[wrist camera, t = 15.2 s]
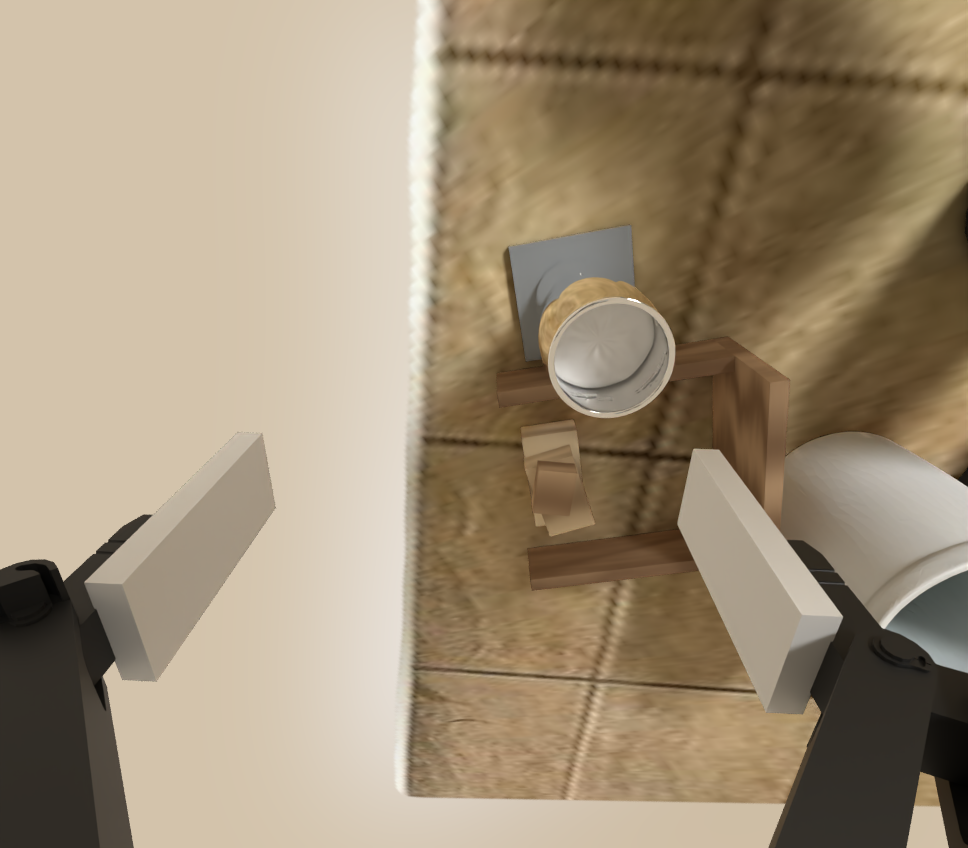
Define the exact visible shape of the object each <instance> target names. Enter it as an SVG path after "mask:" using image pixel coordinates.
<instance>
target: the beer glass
mask: <svg viewBox="0 0 968 848" xmlns="http://www.w3.org/2000/svg"><path fill="white" fill-rule="evenodd" d="M535 310H536V314H537V316H538V319H539V326H538V344H539V351H540V355H541V359H542V362H543V364H544V367H545V370H546V372H547V374H548V376H549V378H550V380H551V382H552V385H553V387H554V389H555V391H556V392H557V394H558V395H559V397H560V398H561V399H562V400H563V401H564V402H565V403H566V404H567V405H568V406H570V407H571V408H573V409H574V410H576V411H578V412H580V413H582V414H585V415H588V416H591V417H597V418H616V417H621V416H625V415H628V414H631V413H634V412H636V411H638V410H640V409H642V408H643V407H645V406H646V405H648V404H649V403H650V402H652V401H653V400H654V399H655V398H656V397H657V396H658V395H659V394H660V393H661V391H662V390H663V389H664V387H665V386H666V384H667V382H668V381H669V379H670V376H671V374H672V371H673V368H674V364H675V357H676V347H675V341H674V337H673V334H672V331H671V329H670V327H669V325H668V323H667V322H666V320H665V319H664V318H663V316H662V315H661V314H660V313H659V312H658V311H657V309H656V308H655V307H654V305H653V304H652V303H651V302H650V301H649V299H648V298H647V297H646V296H645V295H644V294H643V293H641V292H640V291H639V290H638V289H636V288H635V287H633V286H632V285H630V284H629V283H627V282H625V281H623V280H621V279H619V278H616V277H612V276H608V275H607V273H606V272H605V271H604V270H603V269H602V268H601V267H599V266H598V265H596V264H594V263H592V262H590V261H586V260H578V259H576V260H568V261H565V262H562V263H560V264H558V265H556V266H554V267H553V268H552V269H550V270H549V271H548V272H547V273H546V274H545V275H544V276H543V278H542V279H541V281H540V283H539V285H538V287H537V290H536V294H535Z"/></svg>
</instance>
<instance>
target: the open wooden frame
mask: <svg viewBox="0 0 968 848" xmlns="http://www.w3.org/2000/svg"><path fill="white" fill-rule="evenodd" d="M675 347H676V357H675V364H674V368H673V371H672V374H671V376H670V379H669V381H668V382H670V381H677V380H684V379H690V378H697V377H703V376H710V375H713V447H712V449H715V450H720V452H721V453H722V454H723V456H724V457H725V458H726V460H727V461H728V462H729V464H730V465H731V466H732V468H733V469H734V470H735V472H736V473H737V474H738V476H739V477H740V478H741V480H742V481H743V483H744V484H745V485H746V487H747V488H748V489H749V491H750V492H751V493H752V495H753V496H754V497H755V499H756V500H757V501H758V503H759V504H760V505H761V507H762V508H763V509H764V511H765V512H766V514H767V515H768V516H769V518H770V519H771V520H772V522H773V523H774V524H775V526H776V527H777V528H778V530H779V531H780V526H781V511H782V495H783V480H784V465H785V449H786V434H787V419H788V404H789V388H790V379H788V378H787V377H785V376H784V375H782V374H781V373H780V372H778V371H777V370H775V369H774V368H772V367H771V366H770V365H768V364H767V363H765V362H764V361H762V360H761V359H760V358H758V357H757V356H755V355H754V354H752V353H751V352H750V351H748V350H747V349H745V348H744V347H742V346H741V345H739V344H738V343H737V342H735V341H734V340H732V339H731V338H729V337H722V338H716V339H709V340H703V341H697V342H691V343H684V344H678V345H675ZM497 397H498V402H499V408H500V407H507V406H513V405H520V404H526V403H533V402H540V401H546V400H553V399H559V398H560V397H559V395H558V394H557V392H556V391H555V389H554V387H553V385H552V382H551V380H550V378H549V376H548V374H547V372H546V370H545V367H544V366H540V367H533V368H527V369H521V370H514V371H508V372H502V373H497ZM528 559H529V572H530V582H531V588H532V591H533V590H541V589H549V588H558V587H566V586H574V585H583V584H591V583H599V582H608V581H616V580H624V579H633V578H641V577H649V576H658V575H666V574H674V573H683V572H691V571H699V569H698V567H697V565H696V563H695V561H694V559H693V556H692V554H691V552H690V550H689V548H688V546H687V544H686V542H685V539H684V537H683V535H682V533H681V531H680V529H677V530H669V531H661V532H653V533H646V534H638V535H630V536H622V537H614V538H606V539H598V540H591V541H583V542H575V543H567V544H559V545H551V546H543V547H536V548H528Z"/></svg>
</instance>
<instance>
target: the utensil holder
mask: <svg viewBox="0 0 968 848" xmlns="http://www.w3.org/2000/svg"><path fill="white" fill-rule="evenodd" d="M780 532H781V534H782V535H783V536H784V538H785V539H786V540H803V541H805V542H806V543H807V544H809V545H810V546H812V547H813V548H814V549H816V550H817V551H819V552H820V553H821V554H823V556H824V557H825V558H826V559H827V561H828V562H829V563H830V564H831V566H832V567H833V568H834V569H835V573H838V574H839V576H840V577H841V578H842V579H843V580H844V582H845V585H848V587H849V588H850V589H851V590H852V592H853V593H854V594H855V595H856V597H857V598H858V599H859V600H860V601H861V603H862V604H863V605H864V606H865V608H866V609H867V610H868V611H869V613H870V614H871V615H872V616H873V618H874V619H875V620H876V621H877V623H878V624H879V625H880V626H881V627H882V628H883V629H887V630H890V631H893V632H896V633H899V634H901V635H903V636H905V637H906V638H908V639H910V640H912V641H914V642H915V643H917V644H918V645H919V646H920V647H921V648H923V649H924V650H925V651H926V652H927V653H928V654H929V655H930V656H931V658H932V659H933V661H934V662H935V663H936V664H938V665H941V666H944V667H948V668H952V669H955V670H959V671H962V672H966V673H968V487H967V486H966V485H964V484H963V483H961V482H959V481H958V480H956V479H955V478H953V477H952V476H950V475H948V474H947V473H945V472H944V471H942V470H940V469H939V468H937V467H936V466H934V465H932V464H931V463H929V462H927V461H926V460H924V459H922V458H921V457H919V456H917V455H916V454H914V453H912V452H910V451H909V450H907V449H905V448H904V447H902V446H900V445H898V444H897V443H895V442H893V441H892V440H890V439H888V438H885V437H882V436H880V435H876V434H872V433H866V432H840V433H834V434H830V435H826V436H823V437H819V438H816V439H814V440H811V441H809V442H807V443H805V444H803V445H801V446H800V447H798V448H796V449H795V450H793V451H792V452H791V453H789V454H788V455H787V456H786V457H785V465H784V480H783V495H782V511H781V526H780Z"/></svg>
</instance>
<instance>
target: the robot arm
mask: <svg viewBox="0 0 968 848" xmlns="http://www.w3.org/2000/svg"><path fill="white" fill-rule="evenodd" d="M275 508H276V507H275V502H274V496H273V490H272V485H271V479H270V473H269V468H268V462H267V457H266V451H265V446H264V440H263V435H262V433H245V432H237V433H236V434H235V435H234V436H233V437H232V438H231V439H230V440H229V441H228V442H227V443H226V444H225V445H224V446H223V447H222V448H221V449H220V450H219V451H218V452H217V453H216V454H215V455H214V456H213V457H212V458H211V459H210V460H209V461H208V462H207V463H206V464H205V465H204V466H203V467H202V468H201V469H200V470H199V471H197V472H196V473H195V474H194V475H193V477H192V478H190V479H189V480H188V481H187V483H185V484H184V485H183V486H182V487H181V488H180V489H179V490H178V491H177V492H176V493H175V494H174V495H173V496H172V497H171V498H170V499H169V500H168V501H167V502H166V503H165V504H164V505H163V506H162V507H161V508H160V509H159V510H158V511H157V512H156V513H155V514H154V515H142V516H140V517H138V518H137V519H135V520H133V521H131V522H130V523H128V524H126V525H124V526H123V527H122V528H121V529H119V530H118V531H117V532H116V533H115V534H114V535H113V536H112V537H111V538H110V539H109V540H108V543H105V544H103V545H102V546H101V547H100V548H99V549H98V550H97V551H96V554H93V555H92V556H90V558H88V559H87V560H86V561H85V562H84V563H83V564H82V565H81V566H80V567H79V568H78V569H77V570H76V571H74V572H73V573H72V574H71V575H70V576H69V577H68V578H67V579H66V580H65V581H64V582H63V580H62V577H61V575H60V573H59V570H58V568H57V566H56V565H55V563H54V562H51V561H48V560H29V561H24V562H20V563H16V564H13V565H11V566H8V567H6V568H3V569H1V570H0V848H134V847H133V841H132V835H131V829H130V823H129V817H128V811H127V805H126V800H125V794H124V787H123V781H122V776H121V769H120V764H119V757H118V751H117V745H116V739H115V733H114V727H113V722H112V716H111V709H110V704H109V698H108V692H107V686H106V684H105V681H104V679H103V675H104V673H105V672H106V671H107V670H108V668H109V667H110V666H111V664H112V663H113V662H114V661H115V663H116V665H117V668H118V670H119V673H120V675H121V678H122V680H136V681H137V680H138V681H157V680H158V679H159V677H160V676H161V674H162V673H163V671H164V670H165V668H166V667H167V666H168V664H169V663H170V661H171V660H172V658H173V657H174V655H175V654H176V652H177V651H178V649H179V648H180V646H181V645H182V644H183V642H184V641H185V639H186V638H187V636H188V635H189V633H190V632H191V630H192V629H193V628H194V626H195V624H196V623H197V622H198V620H199V619H200V617H201V616H202V614H203V613H204V611H205V610H206V609H207V607H208V606H209V604H210V603H211V601H212V600H213V598H214V597H215V595H216V594H217V593H218V591H219V590H220V588H221V587H222V585H223V584H224V582H225V581H226V579H227V578H228V577H229V575H230V574H231V572H232V571H233V569H234V568H235V566H236V565H237V563H238V562H239V560H240V559H241V557H242V556H243V555H244V553H245V552H246V550H247V549H248V547H249V546H250V544H251V543H252V541H253V540H254V538H255V537H256V536H257V534H258V533H259V531H260V530H261V528H262V527H263V525H264V524H265V522H266V521H267V520H268V518H269V517H270V515H271V514H272V512H273V511H274V509H275ZM677 525H678V527H679V529H680V531H681V533H682V535H683V537H684V539H685V542H686V544H687V546H688V548H689V550H690V552H691V554H692V556H693V559H694V561H695V563H696V565H697V567H698V569H699V571H700V573H701V576H702V578H703V580H704V582H705V584H706V586H707V588H708V590H709V593H710V595H711V597H712V599H713V601H714V603H715V605H716V607H717V610H718V612H719V614H720V616H721V618H722V620H723V622H724V624H725V627H726V629H727V631H728V633H729V635H730V637H731V639H732V641H733V644H734V646H735V648H736V650H737V652H738V654H739V656H740V658H741V661H742V663H743V665H744V667H745V669H746V671H747V673H748V675H749V678H750V680H751V682H752V684H753V686H754V688H755V690H756V692H757V695H758V697H759V699H760V701H761V703H762V705H763V707H764V709H765V712H766V713H786V714H803V713H804V710H805V708H806V705H807V703H808V701H809V698H810V696H811V695H812V697H813V698H814V700H815V702H816V704H817V705H818V707H819V709H820V711H821V715H820V717H819V719H818V722H817V724H816V726H815V728H814V731H813V733H812V735H811V738H810V740H809V742H808V744H807V750H806V752H805V755H804V757H803V760H802V763H801V765H800V768H799V770H798V773H797V776H796V778H795V781H794V783H793V786H792V788H791V791H790V794H789V796H788V799H787V801H786V804H785V807H784V809H783V812H782V814H781V817H780V819H779V822H778V825H777V828H776V830H775V832H774V835H773V837H772V840H771V843H770V845H769V848H906V846H907V841H908V835H909V830H910V824H911V819H912V814H913V808H914V803H915V797H916V792H917V786H918V781H919V775H920V772H923V773H926V774H929V775H932V776H934V777H935V782H936V787H937V792H938V797H939V802H940V806H941V811H942V816H943V821H944V826H945V831H946V836H947V841H948V845H949V848H968V673H966V672H962V671H959V670H955V669H952V668H948V667H944V666H941V665H938V664H936V663H935V662H934V661H933V659H932V658H931V656H930V655H929V654H928V653H927V652H926V651H925V650H924V649H923V648H921V647H920V646H919V645H918V644H917V643H915V642H914V641H912V640H910V639H908V638H906V637H905V636H903V635H901V634H899V633H896V632H893V631H890V630H887V629H883V628H882V627H881V626H880V625H879V624H878V623H877V621H876V620H875V619H874V618H873V616H872V615H871V614H870V613H869V611H868V610H867V609H866V608H865V606H864V605H863V604H862V603H861V601H860V600H859V599H858V598H857V597H856V595H855V594H854V593H853V592H852V590H851V589H850V588H849V587H848V585H845V582H844V580H843V579H842V578H841V577H840V576H839V574H838V573H835V569H834V568H833V567H832V566H831V564H830V563H829V562H828V561H827V559H826V558H825V557H824V556H823V554H821V553H820V552H819V551H817V550H816V549H814V548H813V547H812V546H810V545H809V544H807V543H806V542H805V541H803V540H786V539H785V538H784V536H783V535H782V534H781V532H780V531H779V530H778V528H777V527H776V526H775V524H774V523H773V522H772V520H771V519H770V518H769V516H768V515H767V514H766V512H765V511H764V509H763V508H762V507H761V505H760V504H759V503H758V501H757V500H756V499H755V497H754V496H753V495H752V493H751V492H750V491H749V489H748V488H747V487H746V485H745V484H744V483H743V481H742V480H741V478H740V477H739V476H738V474H737V473H736V472H735V470H734V469H733V468H732V466H731V465H730V464H729V462H728V461H727V460H726V458H725V457H724V456H723V454H722V453H721V452H720V450H715V449H693V452H692V457H691V462H690V466H689V471H688V476H687V481H686V485H685V490H684V495H683V499H682V504H681V509H680V513H679V518H678V523H677Z"/></svg>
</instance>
